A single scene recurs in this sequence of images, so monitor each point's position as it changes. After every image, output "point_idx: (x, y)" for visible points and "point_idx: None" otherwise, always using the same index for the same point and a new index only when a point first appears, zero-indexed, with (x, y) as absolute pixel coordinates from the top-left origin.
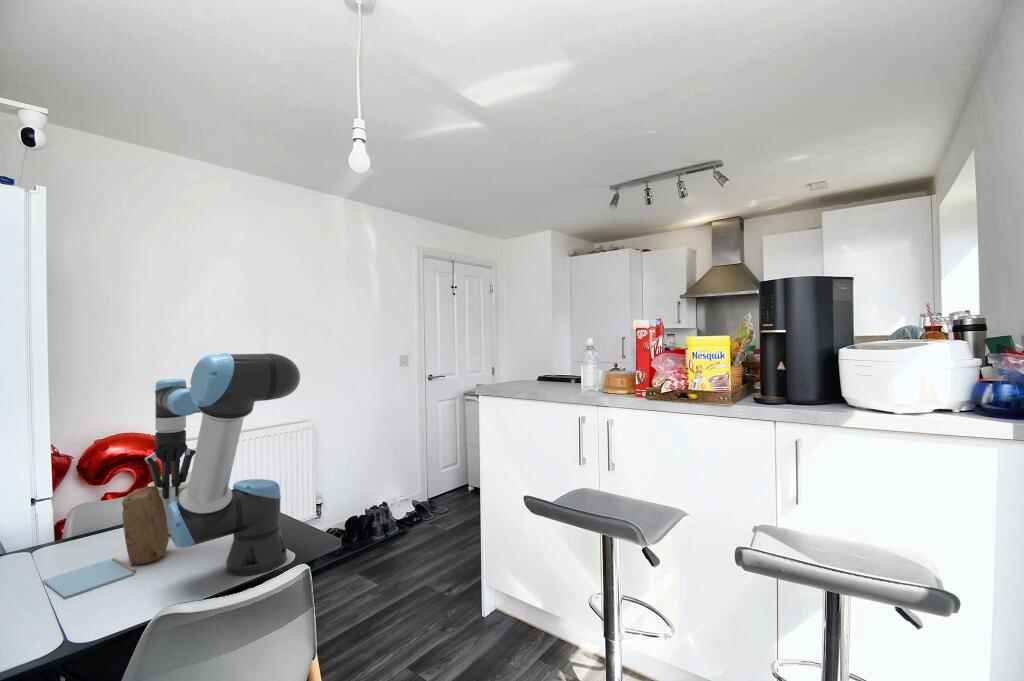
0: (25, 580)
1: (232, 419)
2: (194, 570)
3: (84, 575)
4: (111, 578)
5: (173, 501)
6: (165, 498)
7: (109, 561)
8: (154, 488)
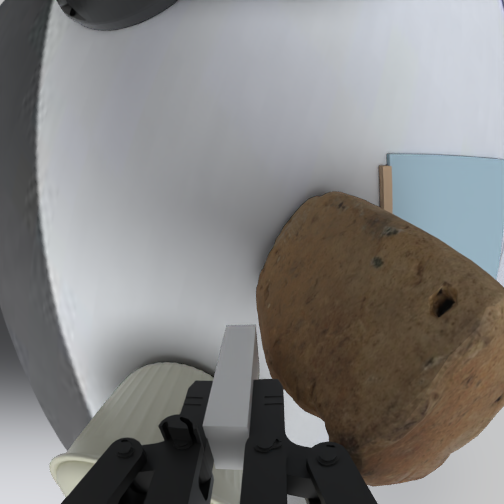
0: None
1: None
2: (259, 32)
3: None
4: (434, 170)
5: (230, 350)
6: (275, 380)
7: None
8: (390, 426)
